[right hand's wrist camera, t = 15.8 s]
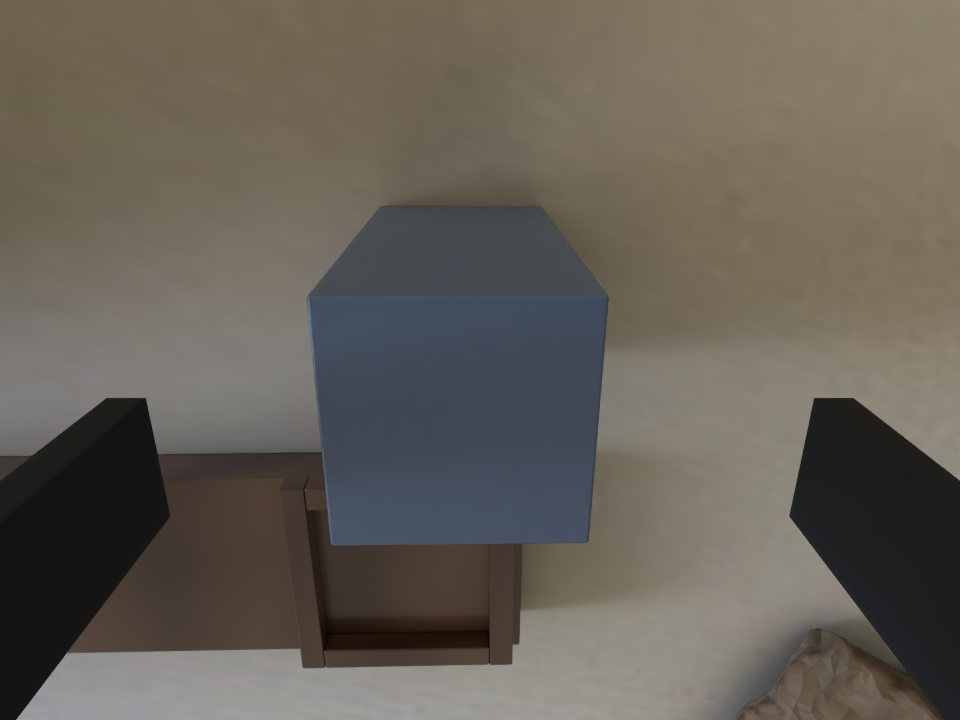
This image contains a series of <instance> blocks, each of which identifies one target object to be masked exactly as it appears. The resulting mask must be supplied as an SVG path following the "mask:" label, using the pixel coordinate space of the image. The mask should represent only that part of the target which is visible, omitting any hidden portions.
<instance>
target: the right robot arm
mask: <svg viewBox="0 0 960 720" xmlns="http://www.w3.org/2000/svg"><path fill="white" fill-rule="evenodd" d="M169 518H170V511H169V507H168V502H167V497H166V492H165V488H164V483H163V478H162V473H161V469H160V464H159V459H158V454H157V449H156V445H155V440H154V435H153V430H152V426H151V421H150V416H149V411H148V407H147V402H146V398H106V399H105V400H104V401H102V402H101V403H100V404H98V405H97V406H96V407H95V408H93V409H92V410H91V411H89V412H88V413H87V414H86V415H84V416H83V417H82V418H80V419H79V420H78V421H77V422H75V423H74V424H73V425H71V426H70V427H69V428H68V429H66V430H65V431H64V432H62V433H61V434H60V435H59V436H57V437H56V438H55V439H53V440H52V441H51V442H49V443H48V444H47V445H46V446H44V447H43V448H42V449H40V450H39V451H38V452H37V453H35V454H34V455H33V456H31V457H30V458H29V459H28V460H26V461H25V462H24V463H22V464H21V465H20V466H19V467H17V468H16V469H15V470H13V471H12V472H11V473H10V474H8V475H7V476H6V477H4V478H3V479H2V480H0V720H16V719H17V718H18V717H19V715H20V714H21V713H22V711H23V710H24V709H25V707H26V706H27V705H28V703H29V702H30V701H31V699H32V698H33V697H34V696H35V694H36V693H37V692H38V690H39V689H40V688H41V686H42V685H43V684H44V682H45V681H46V680H47V678H48V677H49V676H50V674H51V673H52V672H53V670H54V669H55V668H56V667H57V665H58V664H59V663H60V661H61V660H62V659H63V657H64V656H65V655H66V653H67V652H68V651H69V649H70V648H71V647H72V645H73V644H74V643H75V642H76V640H77V639H78V638H79V636H80V635H81V634H82V632H83V631H84V630H85V628H86V627H87V626H88V624H89V623H90V622H91V620H92V619H93V618H94V616H95V615H96V614H97V613H98V611H99V610H100V609H101V607H102V606H103V605H104V603H105V602H106V601H107V599H108V598H109V597H110V595H111V594H112V593H113V591H114V590H115V589H116V587H117V586H118V585H119V584H120V582H121V581H122V580H123V578H124V577H125V576H126V574H127V573H128V572H129V570H130V569H131V568H132V566H133V565H134V564H135V562H136V561H137V560H138V559H139V557H140V556H141V555H142V553H143V552H144V551H145V549H146V548H147V547H148V545H149V544H150V543H151V541H152V540H153V539H154V537H155V536H156V535H157V533H158V532H159V531H160V530H161V528H162V527H163V526H164V524H165V523H166V522H167V520H168V519H169ZM790 518H791V519H792V520H793V522H794V523H795V524H796V526H797V527H798V528H799V530H800V531H801V532H802V533H803V535H804V536H805V537H806V539H807V540H808V541H809V543H810V544H811V545H812V547H813V548H814V549H815V551H816V552H817V553H818V555H819V556H820V557H821V559H822V560H823V561H824V562H825V564H826V565H827V566H828V568H829V569H830V570H831V572H832V573H833V574H834V576H835V577H836V578H837V580H838V581H839V582H840V584H841V585H842V586H843V587H844V589H845V590H846V591H847V593H848V594H849V595H850V597H851V598H852V599H853V601H854V602H855V603H856V605H857V606H858V607H859V609H860V610H861V611H862V613H863V614H864V615H865V616H866V618H867V619H868V620H869V622H870V623H871V624H872V626H873V627H874V628H875V630H876V631H877V632H878V634H879V635H880V636H881V638H882V639H883V640H884V642H885V643H886V644H887V645H888V647H889V648H890V649H891V651H892V652H893V653H894V655H895V656H896V657H897V659H898V660H899V661H900V663H901V664H902V665H903V667H904V668H905V669H906V670H907V672H908V673H909V674H910V676H911V677H912V678H913V680H914V681H915V682H916V684H917V685H918V686H919V688H920V689H921V690H922V692H923V693H924V694H925V696H926V697H927V698H928V699H929V701H930V702H931V703H932V705H933V706H934V707H935V709H936V710H937V711H938V713H939V714H940V715H941V717H942V718H943V719H944V720H960V480H958V479H957V478H956V477H954V476H953V475H952V474H950V473H949V472H948V471H947V470H945V469H944V468H943V467H941V466H940V465H939V464H938V463H936V462H935V461H934V460H932V459H931V458H930V457H929V456H927V455H926V454H925V453H923V452H922V451H921V450H920V449H918V448H917V447H916V446H914V445H913V444H912V443H911V442H909V441H908V440H907V439H905V438H904V437H903V436H901V435H900V434H899V433H898V432H896V431H895V430H894V429H892V428H891V427H890V426H889V425H887V424H886V423H885V422H883V421H882V420H881V419H880V418H878V417H877V416H876V415H874V414H873V413H872V412H871V411H869V410H868V409H867V408H865V407H864V406H863V405H862V404H860V403H859V402H858V401H856V400H855V399H854V398H814V402H813V407H812V411H811V416H810V421H809V426H808V430H807V435H806V440H805V445H804V449H803V454H802V459H801V464H800V469H799V473H798V478H797V483H796V488H795V492H794V497H793V502H792V507H791V511H790Z"/></svg>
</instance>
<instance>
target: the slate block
mask: <svg viewBox="0 0 960 720" xmlns="http://www.w3.org/2000/svg"><path fill="white" fill-rule="evenodd" d="M608 300H609V298H608V295H607V294H606V293H605V291H604V290H603V289H602V287H601V286H600V285H599V283H598V282H597V281H596V279H595V278H594V277H593V275H592V274H591V273H590V271H589V270H588V269H587V267H586V266H585V265H584V263H583V262H582V261H581V259H580V258H579V257H578V255H577V254H576V253H575V251H574V250H573V249H572V247H571V246H570V245H569V243H568V242H567V241H566V239H565V238H564V237H563V235H562V234H561V233H560V232H559V230H558V229H557V228H556V226H555V225H554V224H553V222H552V221H551V220H550V218H549V217H548V216H547V214H546V213H545V212H544V210H543V209H542V208H541V207H470V206H381V207H380V208H379V209H378V210H377V212H376V213H375V214H374V215H373V217H372V218H371V219H370V220H369V221H368V223H367V224H366V225H365V226H364V228H363V229H362V230H361V231H360V233H359V234H358V235H357V236H356V237H355V239H354V240H353V241H352V242H351V244H350V245H349V246H348V247H347V248H346V250H345V251H344V252H343V253H342V255H341V256H340V257H339V258H338V259H337V261H336V262H335V263H334V264H333V266H332V267H331V268H330V269H329V271H328V272H327V273H326V274H325V275H324V277H323V278H322V279H321V280H320V282H319V283H318V284H317V285H316V286H315V288H314V289H313V290H312V291H311V293H310V294H309V295H308V297H307V305H308V315H309V326H310V336H311V346H312V356H313V366H314V376H315V386H316V396H317V407H318V417H319V427H320V437H321V447H322V457H323V467H324V478H325V488H326V498H327V508H328V518H329V528H330V538H331V544H332V545H420V544H513V543H586V542H588V540H589V530H590V518H591V506H592V494H593V482H594V470H595V457H596V445H597V433H598V421H599V409H600V397H601V385H602V373H603V360H604V348H605V336H606V324H607V312H608Z"/></svg>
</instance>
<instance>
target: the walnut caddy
mask: <svg viewBox="0 0 960 720" xmlns="http://www.w3.org/2000/svg"><path fill="white" fill-rule="evenodd" d="M29 458H30V457H0V480H2V479H3V478H4V477H6V476H7V475H8V474H10V473H11V472H12V471H13V470H15V469H16V468H17V467H19V466H20V465H21V464H22V463H24V462H25V461H26V460H28V459H29ZM158 459H159V464H160V469H161V473H162V478H163V483H164V488H165V492H166V497H167V502H168V507H169V511H170V518H169V519H168V520H167V522H166V523H165V524H164V526H163V527H162V528H161V530H160V531H159V532H158V533H157V535H156V536H155V537H154V539H153V540H152V541H151V543H150V544H149V545H148V547H147V548H146V549H145V551H144V552H143V553H142V555H141V556H140V557H139V559H138V560H137V561H136V562H135V564H134V565H133V566H132V568H131V569H130V570H129V572H128V573H127V574H126V576H125V577H124V578H123V580H122V581H121V582H120V584H119V585H118V586H117V587H116V589H115V590H114V591H113V593H112V594H111V595H110V597H109V598H108V599H107V601H106V602H105V603H104V605H103V606H102V607H101V609H100V610H99V611H98V613H97V614H96V615H95V616H94V618H93V619H92V620H91V622H90V623H89V624H88V626H87V627H86V628H85V630H84V631H83V632H82V634H81V635H80V636H79V638H78V639H77V640H76V642H75V643H74V644H73V645H72V647H71V648H70V649H69V651H68V652H67V653H94V652H147V651H200V650H253V649H300V651H301V658H302V665H303V668H325V666H326V667H327V668H335V667H386V666H437V665H487V664H489V663H490V665H508V664H512V648H513V645H518V644H519V638H520V604H521V569H522V543H513V544H420V545H332V544H331V538H330V528H329V518H328V508H327V498H326V488H325V478H324V467H323V457H322V453H284V454H203V455H158Z"/></svg>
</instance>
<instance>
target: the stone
mask: <svg viewBox="0 0 960 720" xmlns="http://www.w3.org/2000/svg"><path fill="white" fill-rule="evenodd" d="M736 720H944V719H943V718H942V717H941V715H940V714H939V713H938V711H937V710H936V709H935V707H934V706H933V705H932V703H931V702H930V701H929V699H928V698H927V697H926V696H925V694H924V693H923V692H922V690H921V689H920V688H919V686H918V685H917V684H916V682H915V681H914V680H913V678H912V677H911V676H908V675H904V674H901V673H900V672H898V671H897V670H895V669H894V668H892V667H891V666H889V665H888V664H886V663H885V662H882V661H880V660H878V659H876V658H875V657H873V656H871V655H869V654H868V653H866V652H864V651H863V650H861V649H860V648H857V647H854V646H851V645H849V644H848V642H847V641H846V640H845V639H844V638H842V637H840V636H838V635H836V634H834V633H832V632H828V631H823V630H821V629H814V630H810V632H809V633H808V634H807V635H806V637H805V638H804V640H803V641H802V643H801V644H800V646H799V647H798V649H796V650H795V651H794V652H793V653H792V654H790V656H789V662H788V664H787V666H786V667H785V668H784V670H783V671H782V673H781V674H780V676H779V677H778V679H777V680H776V682H775V684H774V686H773V688H772V689H771V691H769V692H768V693H766V694H764V695H762V696H761V697H760V698H759V699H757V700H754V701H751V702H749V703H748V704H747V705H746V706H745V707H744V708H743V709H742V710H741V711H740V712H739V713H738V714H737V717H736Z"/></svg>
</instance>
